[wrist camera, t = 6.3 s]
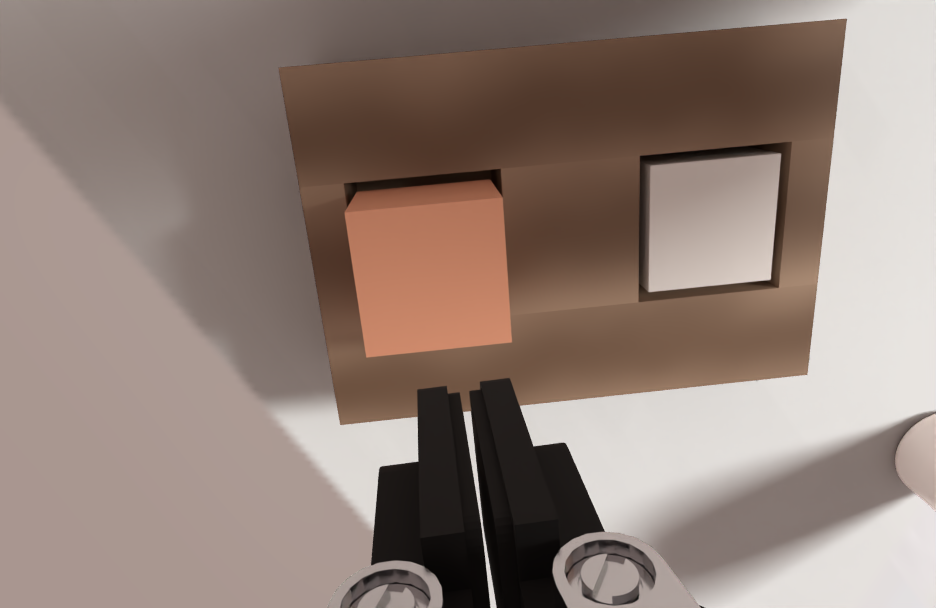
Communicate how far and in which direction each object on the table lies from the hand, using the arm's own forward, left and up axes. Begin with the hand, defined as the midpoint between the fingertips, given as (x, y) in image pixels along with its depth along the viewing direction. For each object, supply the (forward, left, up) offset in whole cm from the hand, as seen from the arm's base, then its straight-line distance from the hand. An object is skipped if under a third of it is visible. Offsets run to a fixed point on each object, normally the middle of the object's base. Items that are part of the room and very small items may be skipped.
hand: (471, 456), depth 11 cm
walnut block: (0, +5, -20) cm, 20 cm away
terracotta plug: (0, -1, -14) cm, 14 cm away
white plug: (0, +10, -18) cm, 20 cm away
